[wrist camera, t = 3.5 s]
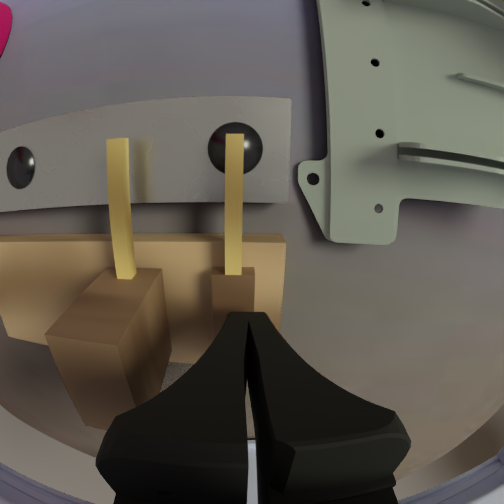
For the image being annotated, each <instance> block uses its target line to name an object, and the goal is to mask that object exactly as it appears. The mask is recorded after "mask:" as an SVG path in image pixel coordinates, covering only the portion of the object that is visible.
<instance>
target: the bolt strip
mask: <svg viewBox="0 0 504 504" xmlns="http://www.w3.org/2000/svg"><path fill="white" fill-rule="evenodd" d="M226 134H244V159H243V202H254V203H288V186H289V163H290V134H291V99H288V98H273V97H247V96H210V97H185V98H170V99H158V100H147V101H138V102H130V103H123V104H116V105H109V106H103V107H97V108H92V109H86V110H81V111H76V112H72V113H67V114H63V115H58V116H54V117H50V118H46V119H42V120H39V121H35V122H31V123H28V124H24V125H21V126H18V127H15V128H12V129H8V130H5V131H2V132H0V212H6V211H17V210H28V209H40V208H53V207H67V206H83V205H103V204H109V202H108V185H107V149H106V140H107V139H116V138H129V187H130V203H163V202H225V150H226Z"/></svg>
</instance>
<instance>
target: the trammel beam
mask: <svg viewBox="0 0 504 504" xmlns="http://www.w3.org/2000/svg"><path fill="white" fill-rule="evenodd" d="M243 159H244V134H226V150H225V234H217V233H133V244H134V254H135V263H136V268H160V269H162V274H163V284H164V294H165V302H166V311H167V319H168V326H169V333H170V340H171V347H172V352H171V355H170V359H169V362H175V363H192V364H195V363H196V362H197V361H198V360H199V358H200V357H201V356H202V355H203V354H204V352H205V351H206V350H207V349H208V347H209V346H210V345H211V343H212V342H213V340H214V339H215V337H216V336H217V334H218V333H219V331H220V330H221V328H222V326H223V324H224V322H225V320H226V318H227V315H228V313H230V312H231V311H233V312H265V313H266V314H267V315H268V317H269V318H270V320H271V321H272V323H273V324H274V326H275V327H276V329H277V330H278V332H279V333H280V321H281V309H282V297H283V284H284V270H285V255H286V241H285V239H284V237H283V235H282V234H242V208H243ZM107 267H115V260H114V253H113V244H112V236H111V233H108V234H42V235H4V236H0V315H1V318H2V320H3V323H4V326H5V329H6V331H7V334H8V336H9V337H13V338H17V339H21V340H25V341H30V342H34V343H38V344H43V345H48V344H47V341H46V338H45V335H44V334H45V333H46V332H47V330H48V329H49V328H50V327H51V326H52V325H53V324H54V323H55V321H56V320H57V319H58V318H59V317H60V316H61V315H62V314H63V313H64V312H65V310H66V309H67V308H68V307H69V306H70V305H71V304H72V303H73V302H74V301H75V300H76V299H77V298H78V297H79V296H80V295H81V294H82V292H83V291H84V290H85V289H86V288H87V287H88V286H89V285H90V284H91V283H92V282H93V281H94V280H95V279H96V278H97V277H98V276H99V275H100V274H101V273H102V272H103V271H104V270H105V269H106V268H107Z"/></svg>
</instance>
